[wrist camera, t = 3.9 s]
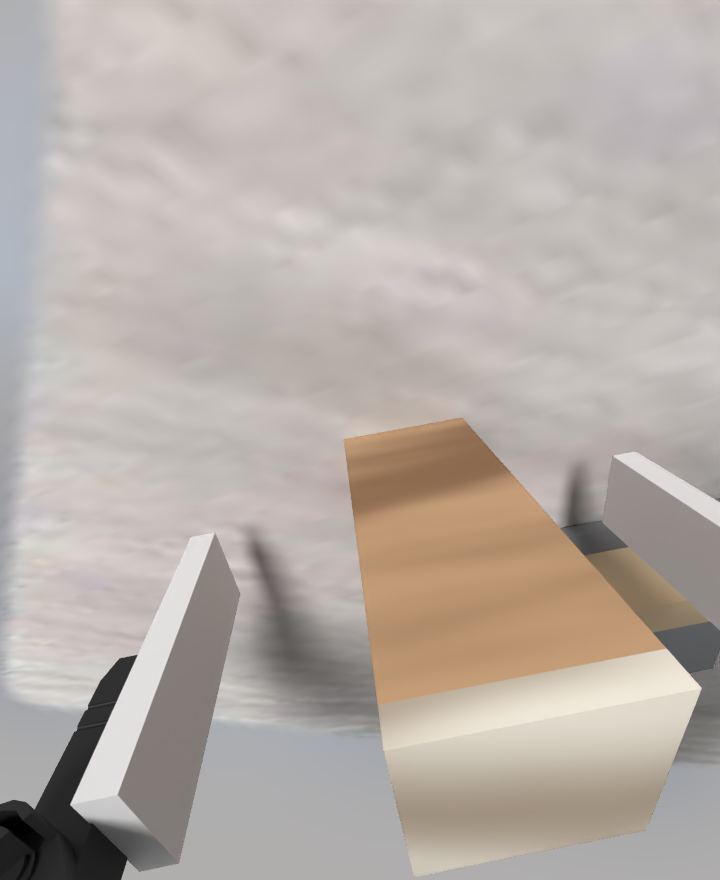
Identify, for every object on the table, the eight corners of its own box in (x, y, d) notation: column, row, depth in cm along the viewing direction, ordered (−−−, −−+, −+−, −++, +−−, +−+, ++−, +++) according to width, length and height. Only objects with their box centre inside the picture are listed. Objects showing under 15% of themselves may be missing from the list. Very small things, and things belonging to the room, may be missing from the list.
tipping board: (462, 546, 17) (495, 615, 14) (766, 489, 17) (869, 543, 14) (470, 703, 22) (495, 779, 19) (703, 658, 22) (767, 725, 19)
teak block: (343, 439, 14) (384, 750, 5) (462, 417, 14) (701, 688, 5) (362, 533, 16) (414, 876, 7) (466, 514, 16) (646, 830, 7)
